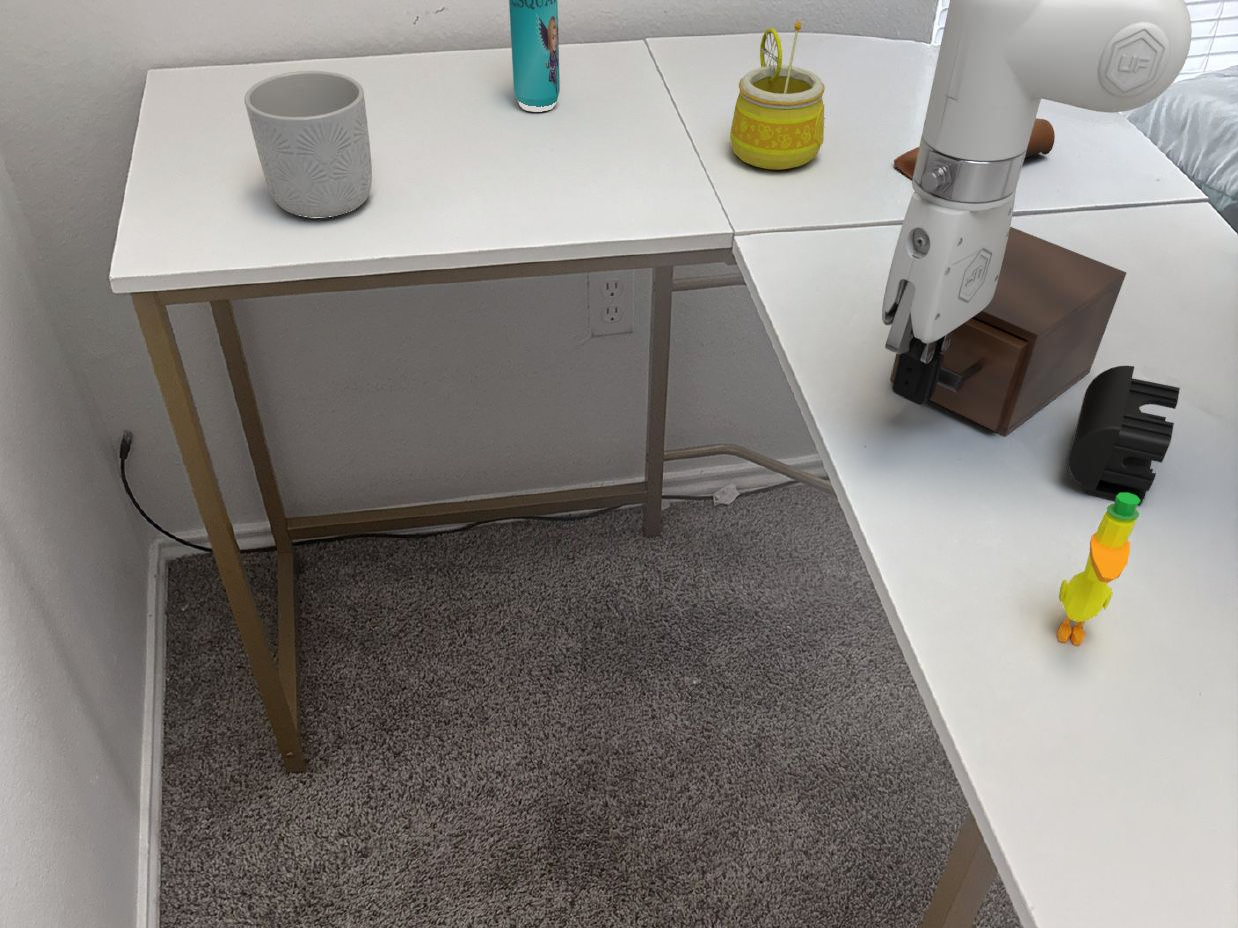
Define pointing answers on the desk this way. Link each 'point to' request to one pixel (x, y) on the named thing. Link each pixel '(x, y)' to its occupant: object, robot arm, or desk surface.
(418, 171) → the desk surface
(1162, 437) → the end cap
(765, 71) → the yellow patterned pot
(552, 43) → the beverage can
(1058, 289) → the cabinet
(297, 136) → the planter
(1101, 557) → the toy figure
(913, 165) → the sunglasses case
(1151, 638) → the desk surface
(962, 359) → the drawer
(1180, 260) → the desk surface
